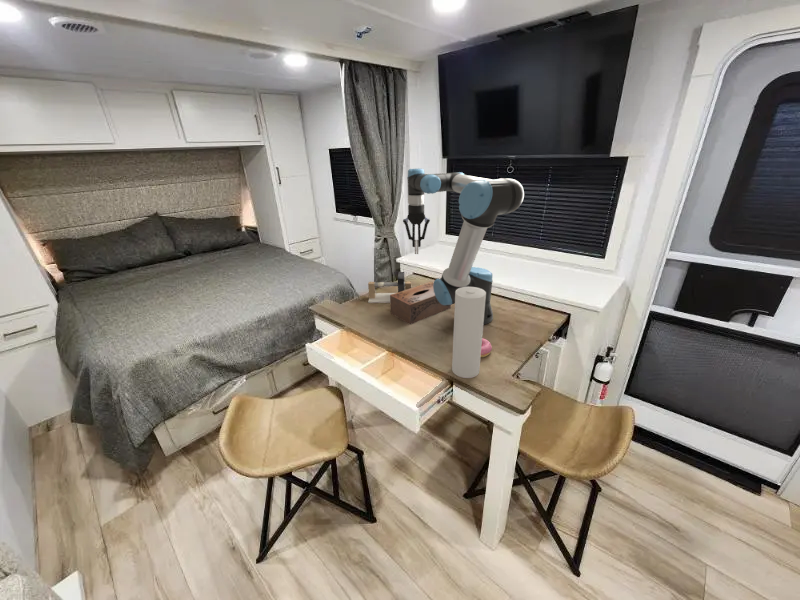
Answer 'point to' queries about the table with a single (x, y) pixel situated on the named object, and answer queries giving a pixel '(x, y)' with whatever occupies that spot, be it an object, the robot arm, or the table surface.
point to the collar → (401, 282)
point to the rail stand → (383, 296)
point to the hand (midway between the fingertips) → (416, 253)
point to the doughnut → (485, 348)
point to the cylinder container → (468, 331)
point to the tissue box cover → (416, 303)
